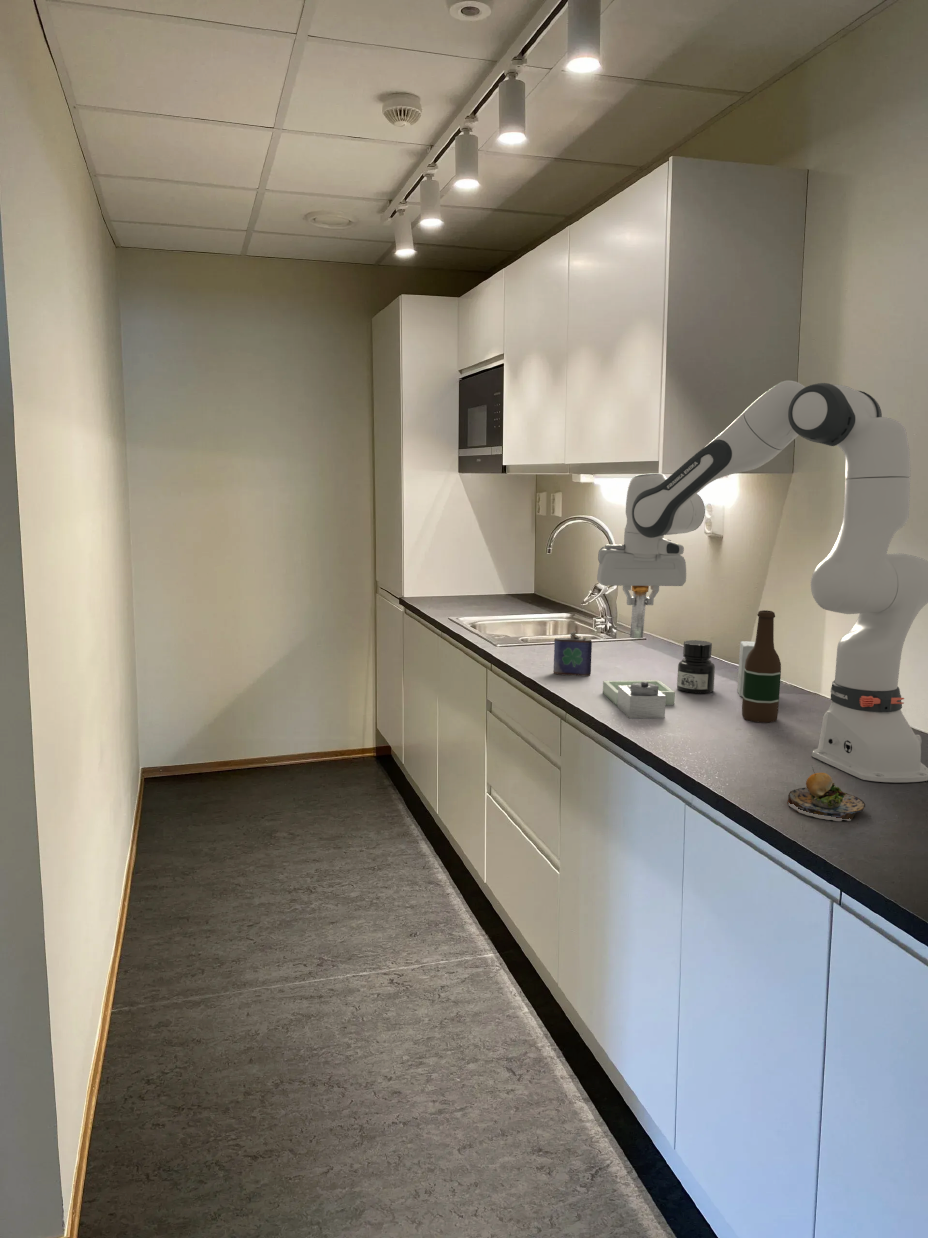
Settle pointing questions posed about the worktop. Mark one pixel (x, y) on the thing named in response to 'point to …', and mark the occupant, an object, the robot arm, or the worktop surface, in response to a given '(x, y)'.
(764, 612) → the beer bottle
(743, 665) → the supplement box
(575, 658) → the flask
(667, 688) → the tray
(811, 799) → the burger
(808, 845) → the worktop surface
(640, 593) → the pin
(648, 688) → the block
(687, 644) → the ink bottle
